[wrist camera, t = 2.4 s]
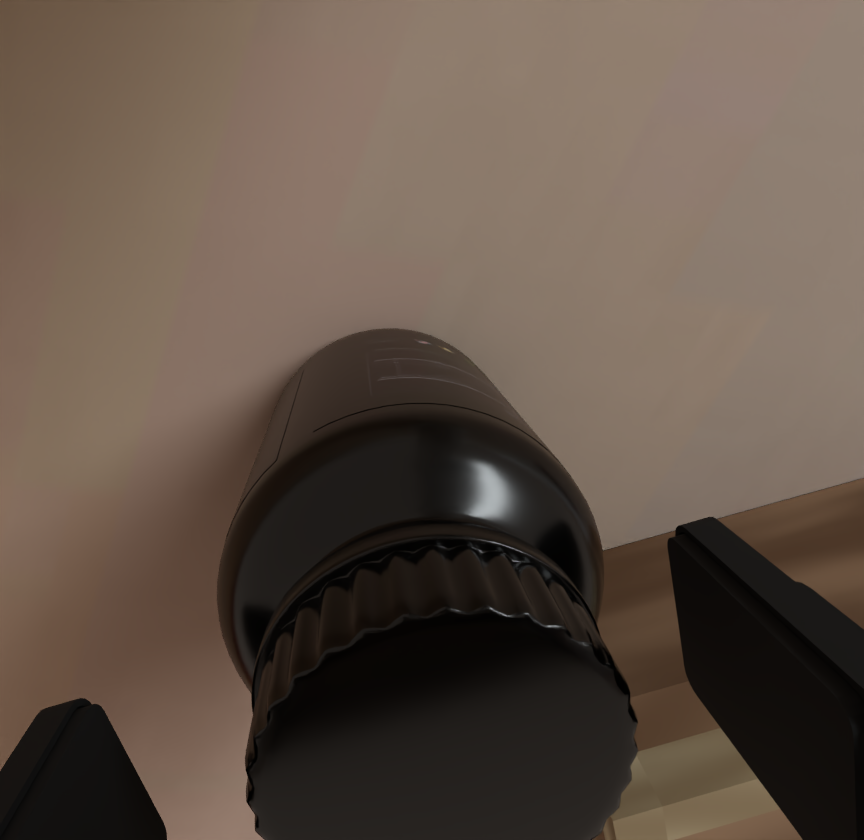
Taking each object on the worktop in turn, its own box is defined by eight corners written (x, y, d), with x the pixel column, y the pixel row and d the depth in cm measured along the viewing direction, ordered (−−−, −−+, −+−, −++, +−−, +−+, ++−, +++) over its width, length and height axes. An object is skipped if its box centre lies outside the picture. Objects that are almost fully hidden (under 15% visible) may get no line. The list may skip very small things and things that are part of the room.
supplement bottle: (446, 562, 20) (558, 1010, 9) (242, 495, 19) (64, 936, 7) (540, 373, 18) (828, 635, 7) (324, 282, 17) (255, 432, 6)
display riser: (466, 589, 21) (523, 787, 14) (918, 463, 21) (1202, 591, 14) (549, 897, 26) (620, 1153, 19) (906, 792, 26) (1105, 1005, 19)
